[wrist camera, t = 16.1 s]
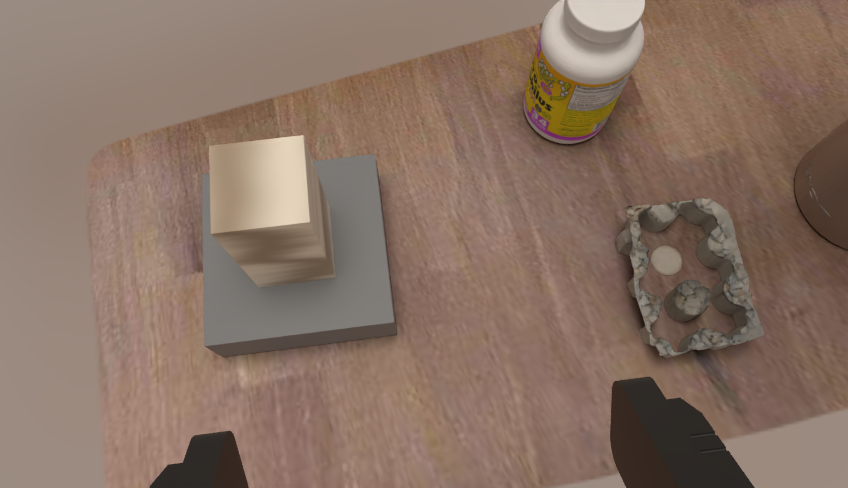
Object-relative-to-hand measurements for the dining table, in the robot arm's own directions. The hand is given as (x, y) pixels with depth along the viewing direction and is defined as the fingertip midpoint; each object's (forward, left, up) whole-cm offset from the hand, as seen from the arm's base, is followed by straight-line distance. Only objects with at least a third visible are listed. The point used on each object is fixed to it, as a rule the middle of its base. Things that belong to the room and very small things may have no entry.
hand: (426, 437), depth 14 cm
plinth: (+7, -15, -31) cm, 35 cm away
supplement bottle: (-14, -25, -31) cm, 42 cm away
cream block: (+7, -15, -27) cm, 31 cm away
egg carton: (-19, -10, -31) cm, 38 cm away
